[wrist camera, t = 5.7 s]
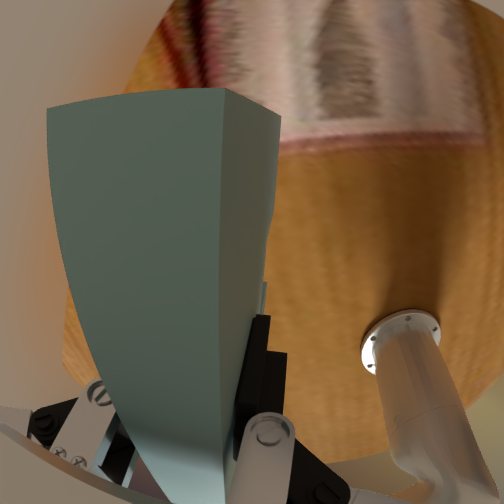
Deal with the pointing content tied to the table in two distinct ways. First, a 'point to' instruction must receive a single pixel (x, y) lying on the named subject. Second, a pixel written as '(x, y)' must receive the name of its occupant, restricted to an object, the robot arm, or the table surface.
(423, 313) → the robot arm
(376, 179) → the table surface
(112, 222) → the teal plate
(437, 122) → the table surface
